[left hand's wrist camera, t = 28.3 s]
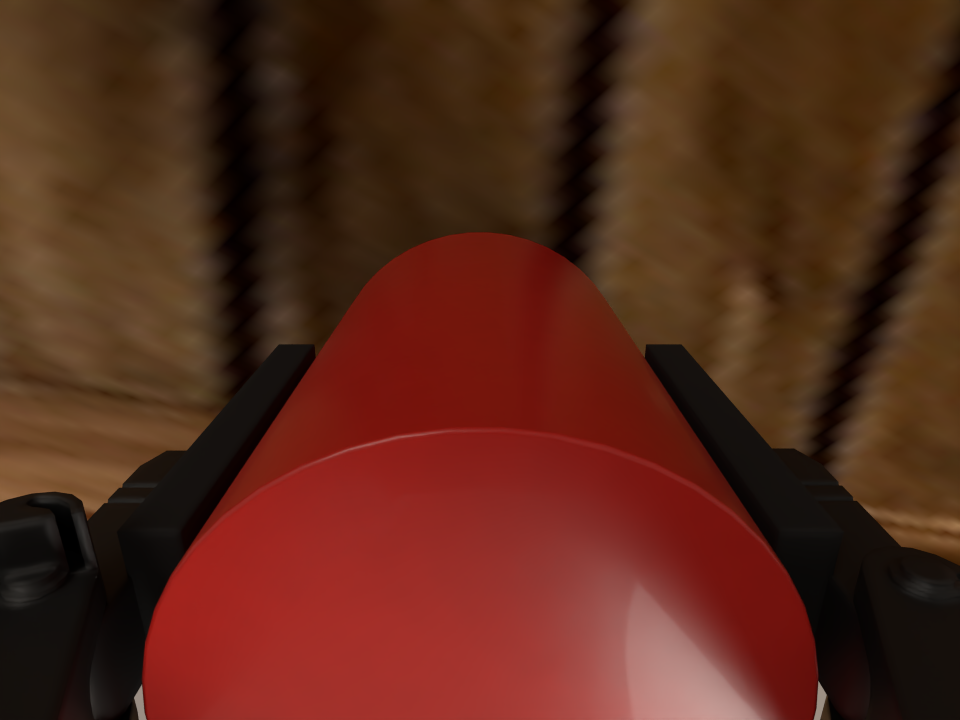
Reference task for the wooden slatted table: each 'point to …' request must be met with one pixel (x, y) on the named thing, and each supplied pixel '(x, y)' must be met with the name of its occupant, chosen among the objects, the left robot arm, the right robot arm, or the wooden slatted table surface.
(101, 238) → the wooden slatted table surface
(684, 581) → the cylinder
